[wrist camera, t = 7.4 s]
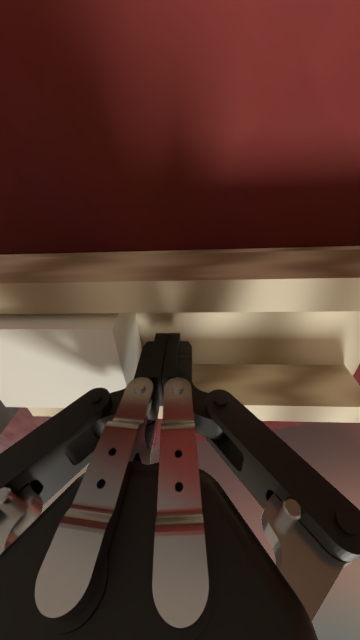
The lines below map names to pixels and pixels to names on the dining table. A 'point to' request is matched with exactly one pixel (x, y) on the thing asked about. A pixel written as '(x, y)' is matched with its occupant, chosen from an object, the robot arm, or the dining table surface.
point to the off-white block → (65, 356)
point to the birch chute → (220, 317)
